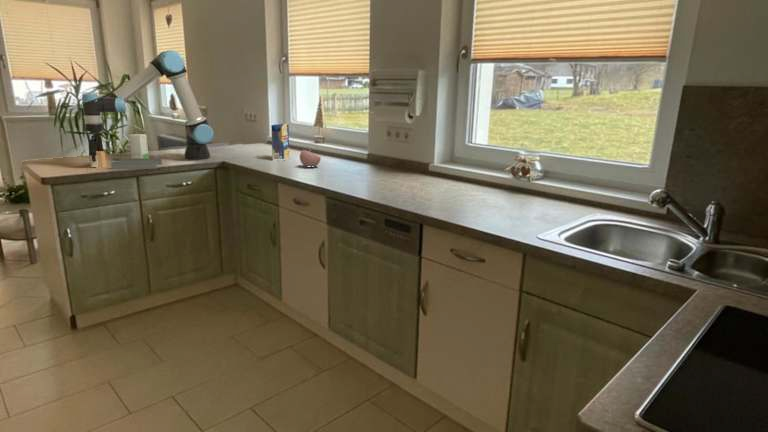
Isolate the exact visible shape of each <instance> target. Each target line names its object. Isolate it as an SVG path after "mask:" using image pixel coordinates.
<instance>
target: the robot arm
mask: <svg viewBox="0 0 768 432" xmlns="http://www.w3.org/2000/svg"><path fill="white" fill-rule="evenodd" d="M185 64H186V63H185V59H184V57H183V56H182V54H181V53H180V52H178V51H176V50H173V49H168V50H164V51H161V52H160V53H159V54H157V56H156V57H155V58H153V59H152V60H151V61H149V63H148V66H147V67H145V68H144V69H143V70H141V71H140V72H138V73H137V74H136V75H134V76H133V77H132V78H130V79H129V80H127V81H126V82H125V83H123V84H122V85H121V86H120V87H118V88H116V89H115V90H114V91H113V92H111V93H110V94H109V95H107V96H105V97H100V96H99V93H85V92H84V93H83V94H82V95H81V97H82V98H81V99H82V110H83V119H84V123H85V131H86V132H89V135H87V140H88V141H87V143H88V156H89V155H91V160H92V167H96V169H97V168H98V159H97V155H96V151H104V146H103V141H102V133H101V132H102V131H103V127H102V126H103V125H102V116H101V113H125V112H126V102H128V100H130V99H131V98H132V97H134V96H135V95H137V94H138V93H139V92H140V91H142V90H143V89H144V88H146V87H147V86H149V85H150V84H151V83H153V82H154V81H155V80H156V79H158V78H162V77H164V76H165V78H166V79H168V80H169V81H170V82H171V84H172V86H173V89H174V91H175V93H176V96H177V99H178V100H179V103H180V105H181V108H182V111H183V112H184V115H185V116H186V119H187V120H186V121H185V123H184V127H185V128H184V129H185V139H186V141H185V142H186V147H185V150H184V156H183V157H184V159H186V160H187V159H188V160H206V159H210V158H211V153H210V151H209V147H208V145H207V144H208V143H210V142H211V141H212V140H213V139H214V135H215V134H214V133H215V132H214V130H213V128H212V127H211V126H210V124H209V122H208V119H207V117H206V116H205V117H204V116H203V115H202V112H201V109H200V107H199V104H198V101H197V100H196V97H195V95H194V92H193V90H192V88H191V85H190V83H189V81H188V79H187V73H188V71H187V68H186V66H185Z"/></svg>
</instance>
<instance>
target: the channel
mask: <svg viewBox="0 0 768 432" xmlns="http://www.w3.org/2000/svg"><path fill="white" fill-rule="evenodd" d="M162 160H163V158H161V157H160V158H158V157H157V158H156V157H153V158H152V157H151V158H132V157H131V158H129V157H128V158H127V157H125V158H122V157H121V158H118V161H117V162H116V161H113V162H110V165H111V169H113V170H116V169H117V170H119V169H120V170H121V169H122V170H126V169H127V170H130V169H132V170H133V169H135V170H136V169H139V170H140V169H141V170H143V169H146V170H147V169H148V170H149V169H150V170H151V169H158V166H157V165H163V161H162Z"/></svg>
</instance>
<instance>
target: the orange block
mask: <svg viewBox="0 0 768 432" xmlns="http://www.w3.org/2000/svg"><path fill="white" fill-rule="evenodd" d="M96 155H97V159H98V167H103V168H104V167H106V166H107V159H106V151H105V150H103V151H96ZM88 158H89V165H90V168H91V167H92V160H91V155H89V154H88Z"/></svg>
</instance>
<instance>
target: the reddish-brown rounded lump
mask: <svg viewBox="0 0 768 432" xmlns="http://www.w3.org/2000/svg"><path fill="white" fill-rule="evenodd" d="M313 150H314V147H311V148H309V150H306V149H302V150H301V152H300V153H299V160H300V162H301V164H302V165H303V166H304V167H306V166H311V167H312V166H315V167H316V166H319V164H320V162H321V157H320V156H319V155H317V154H315V153H313V152H312V151H313ZM312 168H313V167H312Z"/></svg>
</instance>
